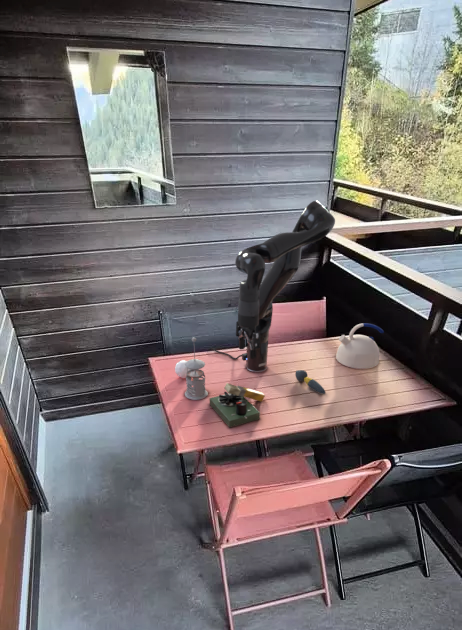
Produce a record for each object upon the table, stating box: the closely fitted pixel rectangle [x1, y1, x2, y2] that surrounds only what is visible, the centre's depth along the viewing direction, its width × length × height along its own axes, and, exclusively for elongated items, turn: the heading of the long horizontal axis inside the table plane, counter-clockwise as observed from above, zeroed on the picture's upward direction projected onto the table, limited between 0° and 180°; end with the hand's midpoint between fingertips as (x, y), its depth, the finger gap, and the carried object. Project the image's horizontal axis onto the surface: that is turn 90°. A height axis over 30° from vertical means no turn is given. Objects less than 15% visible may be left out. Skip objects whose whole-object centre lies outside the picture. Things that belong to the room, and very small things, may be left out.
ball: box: [174, 359, 192, 379], centre depth 194 cm, size 8×8×8 cm
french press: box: [184, 337, 209, 401], centre depth 178 cm, size 10×12×25 cm
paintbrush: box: [295, 369, 326, 395], centre depth 189 cm, size 20×5×5 cm, turn 38°
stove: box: [208, 392, 261, 428], centre depth 172 cm, size 19×13×3 cm
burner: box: [218, 391, 241, 407], centre depth 174 cm, size 9×9×2 cm
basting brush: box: [223, 382, 266, 403], centre depth 175 cm, size 17×4×3 cm, turn 113°
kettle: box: [335, 322, 385, 370], centre depth 206 cm, size 20×21×18 cm
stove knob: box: [236, 400, 247, 416], centre depth 166 cm, size 4×4×5 cm
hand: (247, 353), depth 166 cm, fingers open, 8 cm apart
